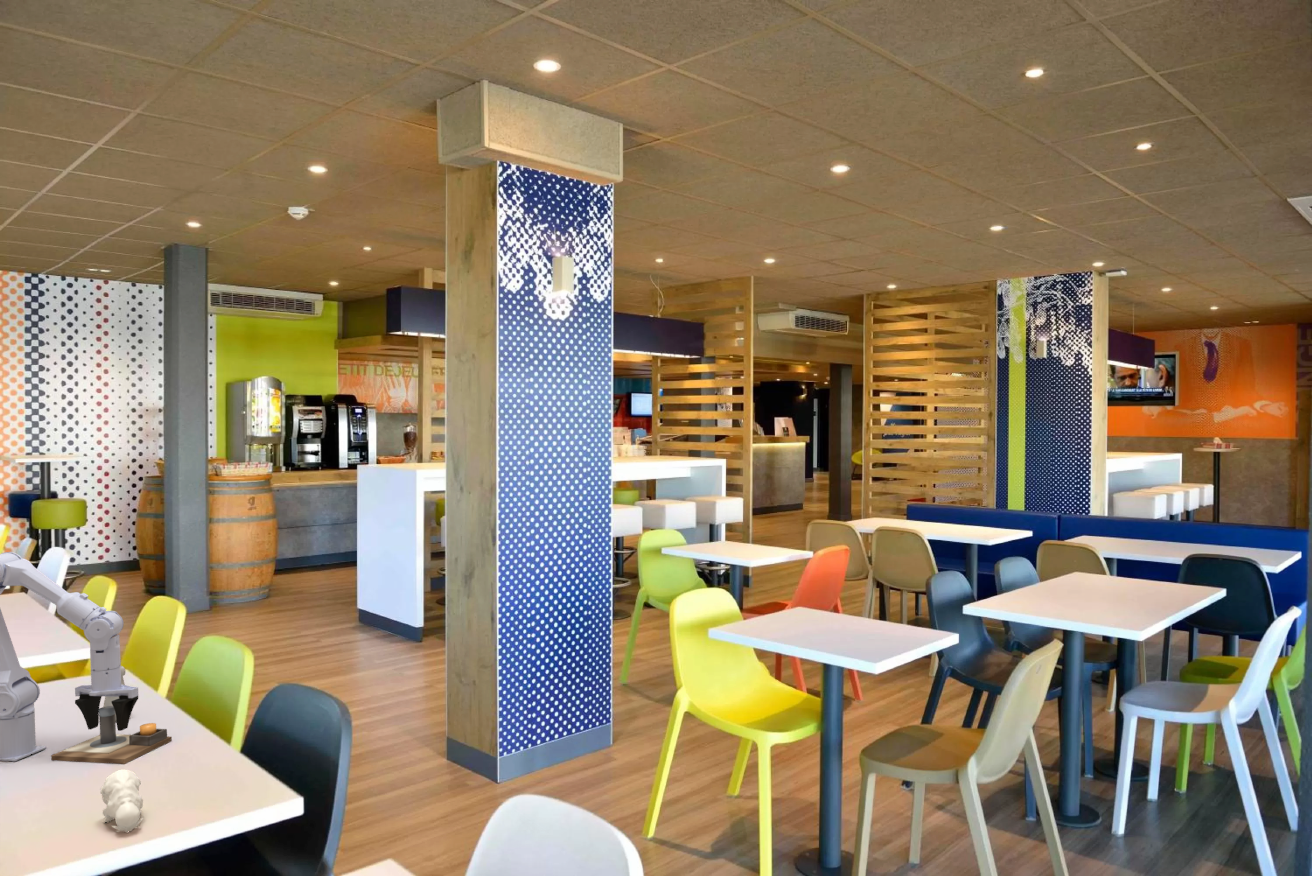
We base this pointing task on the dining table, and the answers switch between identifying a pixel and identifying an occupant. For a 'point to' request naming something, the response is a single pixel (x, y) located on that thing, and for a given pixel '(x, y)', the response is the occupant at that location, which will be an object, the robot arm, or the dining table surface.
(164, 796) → the dining table surface
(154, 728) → the button
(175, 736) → the dining table surface
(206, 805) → the dining table surface
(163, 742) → the board
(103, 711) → the cylinder
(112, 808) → the white crouching figurine
